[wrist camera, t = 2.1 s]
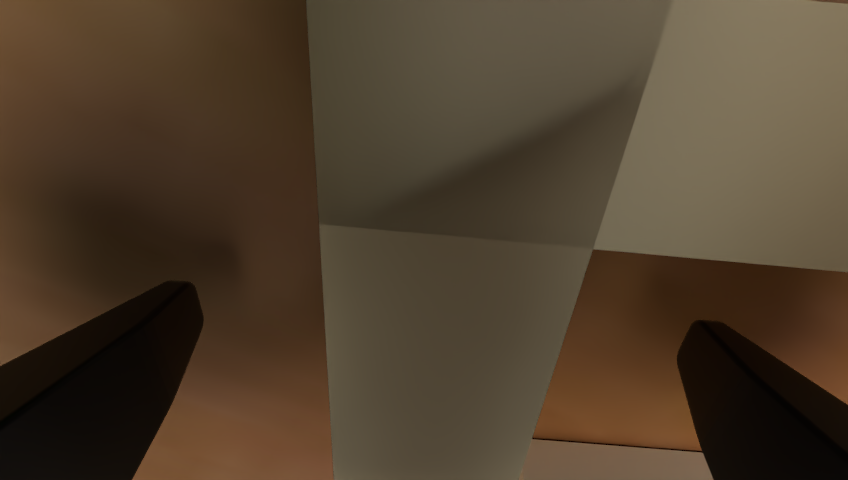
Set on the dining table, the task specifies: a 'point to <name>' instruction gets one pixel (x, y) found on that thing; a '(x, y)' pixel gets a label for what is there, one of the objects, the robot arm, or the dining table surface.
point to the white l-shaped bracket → (610, 463)
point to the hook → (544, 191)
